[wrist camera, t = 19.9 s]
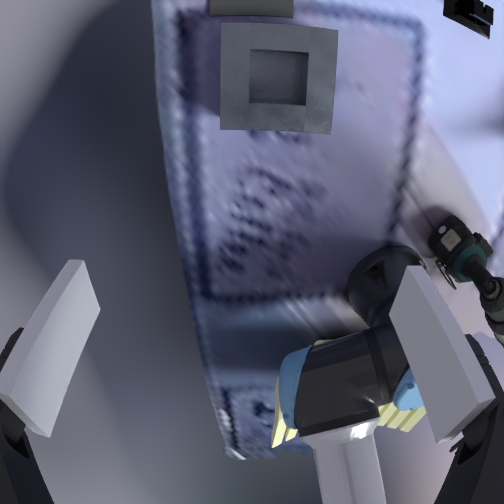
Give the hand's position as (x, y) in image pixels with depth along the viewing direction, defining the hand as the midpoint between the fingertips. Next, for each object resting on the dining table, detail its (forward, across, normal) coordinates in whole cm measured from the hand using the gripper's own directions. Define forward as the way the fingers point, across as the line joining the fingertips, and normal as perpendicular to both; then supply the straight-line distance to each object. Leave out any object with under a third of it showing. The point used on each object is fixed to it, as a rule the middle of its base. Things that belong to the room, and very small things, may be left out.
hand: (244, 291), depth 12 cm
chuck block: (+32, -3, -7) cm, 33 cm away
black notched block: (+32, -31, -23) cm, 51 cm away
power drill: (+32, -34, +15) cm, 49 cm away
